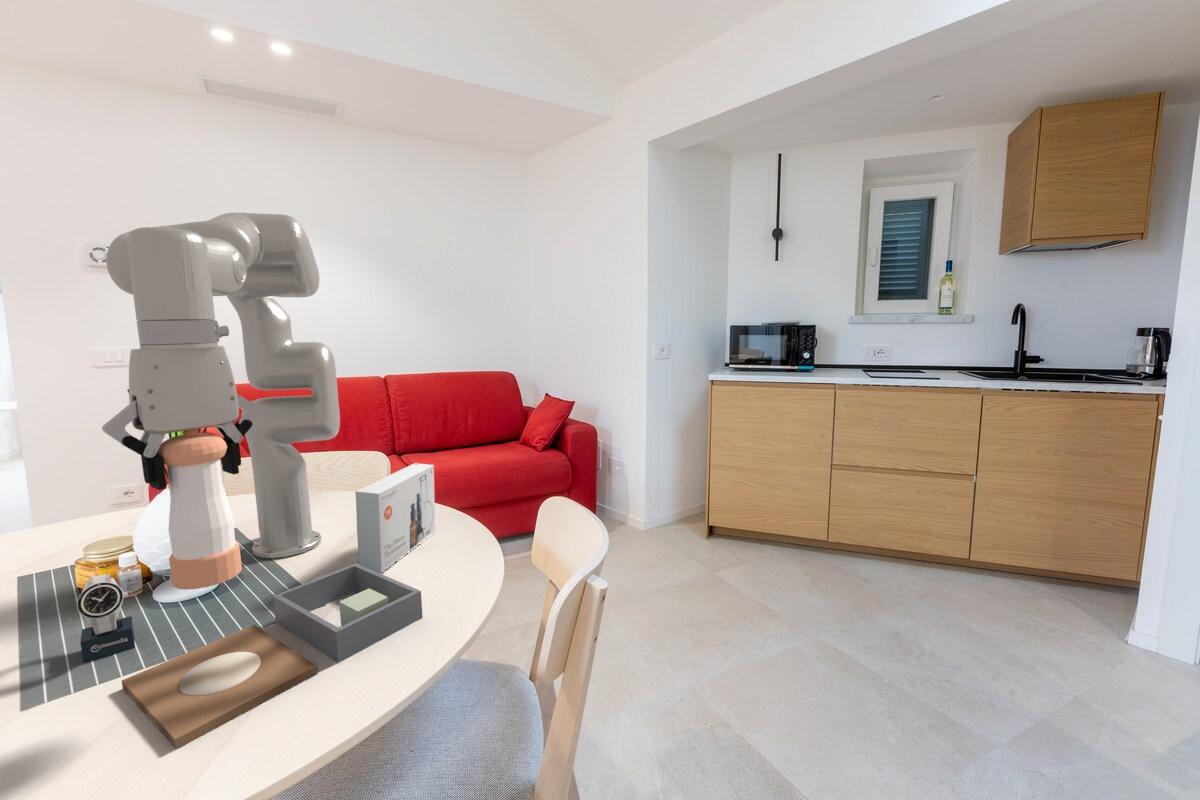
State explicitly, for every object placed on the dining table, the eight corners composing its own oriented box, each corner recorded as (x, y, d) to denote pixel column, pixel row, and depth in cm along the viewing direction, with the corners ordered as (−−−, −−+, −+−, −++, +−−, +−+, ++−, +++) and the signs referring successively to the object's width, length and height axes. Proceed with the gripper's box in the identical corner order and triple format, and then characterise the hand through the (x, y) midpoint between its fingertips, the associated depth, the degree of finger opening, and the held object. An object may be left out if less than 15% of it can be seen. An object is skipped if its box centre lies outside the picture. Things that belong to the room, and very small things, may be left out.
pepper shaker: (230, 584, 69) (213, 431, 66) (161, 593, 67) (140, 436, 64) (249, 560, 76) (234, 421, 73) (186, 568, 73) (168, 425, 71)
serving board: (122, 689, 72) (121, 679, 72) (255, 631, 85) (254, 623, 85) (176, 749, 62) (174, 738, 62) (317, 673, 75) (316, 664, 75)
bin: (275, 622, 88) (272, 596, 87) (357, 587, 99) (356, 563, 98) (338, 662, 77) (336, 632, 77) (422, 617, 89) (420, 591, 88)
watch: (82, 669, 77) (70, 594, 75) (86, 643, 83) (74, 573, 81) (135, 653, 80) (125, 581, 78) (135, 629, 86) (125, 562, 85)
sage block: (341, 632, 85) (339, 601, 84) (371, 617, 89) (369, 588, 88) (360, 642, 82) (357, 611, 82) (390, 627, 86) (388, 597, 86)
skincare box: (383, 575, 104) (377, 493, 101) (357, 573, 105) (351, 491, 102) (438, 532, 124) (434, 463, 122) (416, 530, 125) (411, 462, 123)
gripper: (244, 334, 76) (257, 461, 78) (73, 338, 62) (95, 493, 64) (270, 334, 72) (283, 468, 74) (93, 338, 58) (116, 504, 60)
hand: (196, 478), depth 69 cm, fingers closed on pepper shaker, 7 cm apart
